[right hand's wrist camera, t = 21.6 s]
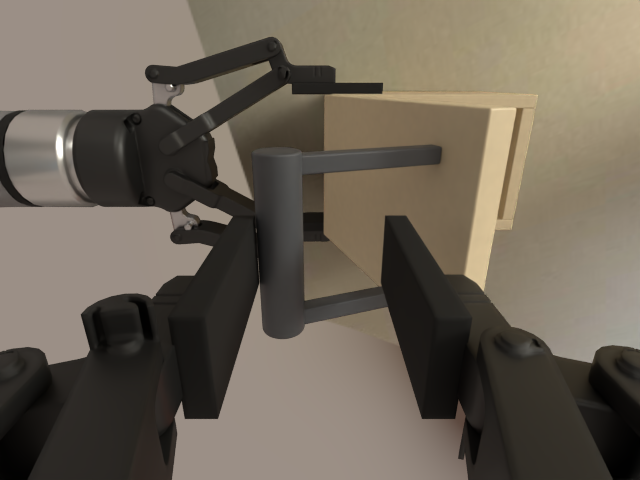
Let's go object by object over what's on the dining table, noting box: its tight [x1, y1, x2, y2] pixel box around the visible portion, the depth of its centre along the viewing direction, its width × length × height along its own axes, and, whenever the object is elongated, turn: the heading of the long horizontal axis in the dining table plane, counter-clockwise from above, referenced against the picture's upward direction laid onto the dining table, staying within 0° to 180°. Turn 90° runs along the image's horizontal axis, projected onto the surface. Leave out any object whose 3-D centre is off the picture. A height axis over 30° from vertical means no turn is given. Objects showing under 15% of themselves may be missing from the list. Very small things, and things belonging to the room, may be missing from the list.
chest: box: [329, 91, 538, 230], centre depth 33 cm, size 14×10×10 cm
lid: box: [252, 95, 516, 339], centre depth 20 cm, size 15×10×8 cm
